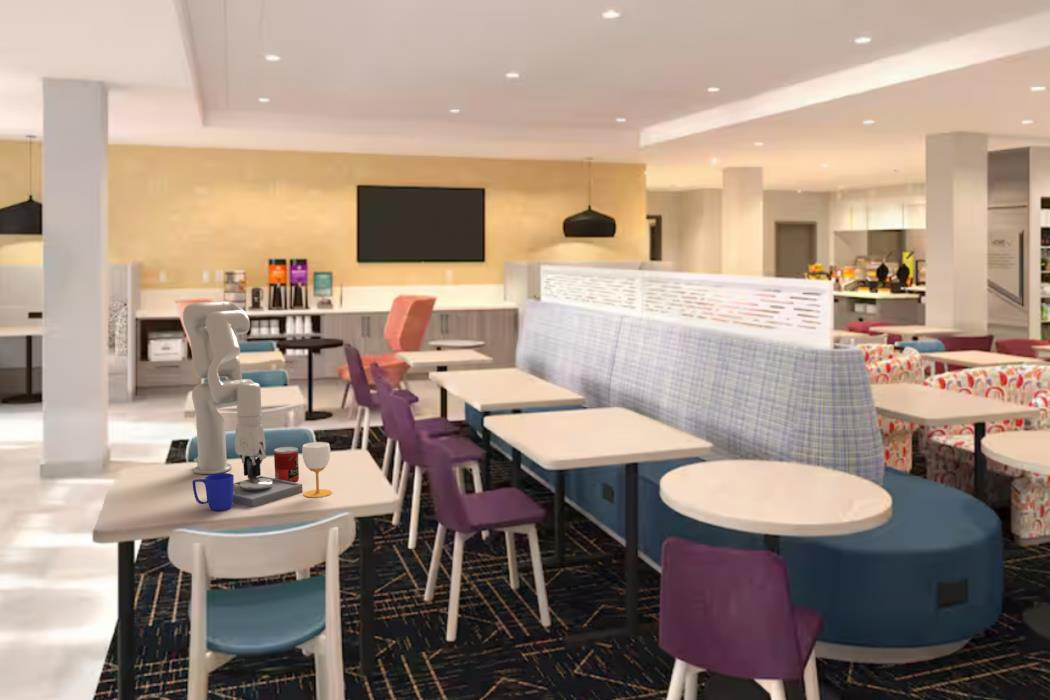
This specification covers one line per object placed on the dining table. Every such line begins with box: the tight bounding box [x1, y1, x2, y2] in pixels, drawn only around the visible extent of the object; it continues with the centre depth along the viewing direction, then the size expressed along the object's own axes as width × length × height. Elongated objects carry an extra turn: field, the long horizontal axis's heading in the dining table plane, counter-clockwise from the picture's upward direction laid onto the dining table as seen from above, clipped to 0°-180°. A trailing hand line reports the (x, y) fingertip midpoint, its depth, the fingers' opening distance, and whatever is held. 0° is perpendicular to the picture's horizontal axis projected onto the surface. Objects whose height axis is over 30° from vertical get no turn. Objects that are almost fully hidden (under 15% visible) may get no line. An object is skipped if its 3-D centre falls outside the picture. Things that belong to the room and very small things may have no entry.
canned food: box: [273, 446, 300, 483], centre depth 300 cm, size 8×8×11 cm
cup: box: [301, 441, 333, 499], centre depth 283 cm, size 9×9×16 cm
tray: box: [233, 475, 303, 508], centre depth 284 cm, size 20×20×3 cm
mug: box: [192, 472, 235, 512], centre depth 268 cm, size 8×12×10 cm
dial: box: [240, 457, 273, 490], centre depth 285 cm, size 14×10×7 cm
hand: (252, 475), depth 290 cm, fingers closed on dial, 3 cm apart
